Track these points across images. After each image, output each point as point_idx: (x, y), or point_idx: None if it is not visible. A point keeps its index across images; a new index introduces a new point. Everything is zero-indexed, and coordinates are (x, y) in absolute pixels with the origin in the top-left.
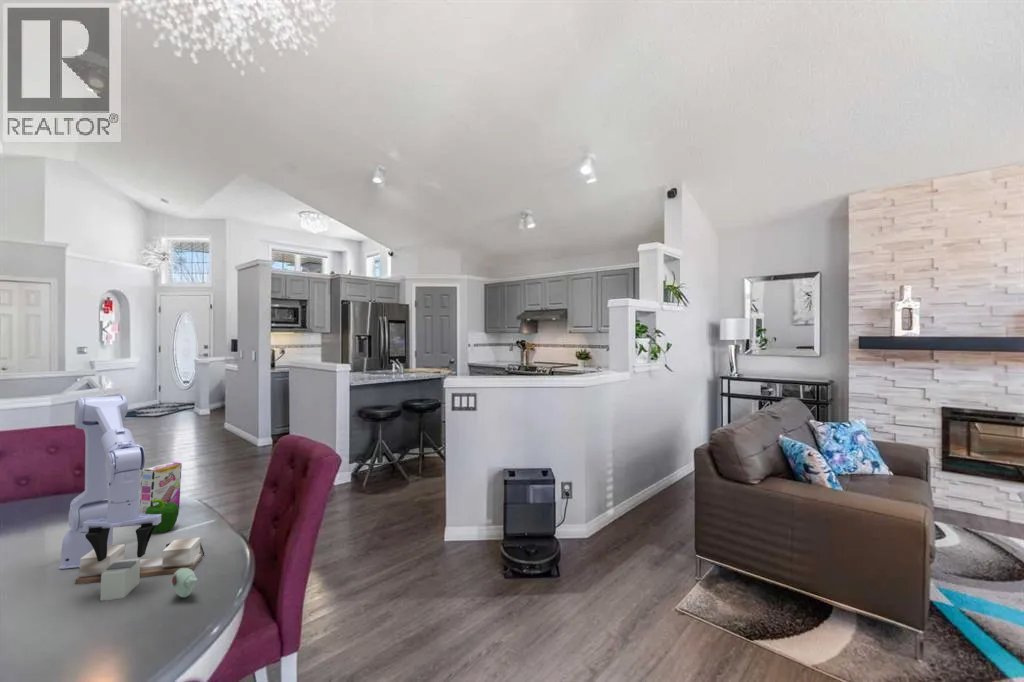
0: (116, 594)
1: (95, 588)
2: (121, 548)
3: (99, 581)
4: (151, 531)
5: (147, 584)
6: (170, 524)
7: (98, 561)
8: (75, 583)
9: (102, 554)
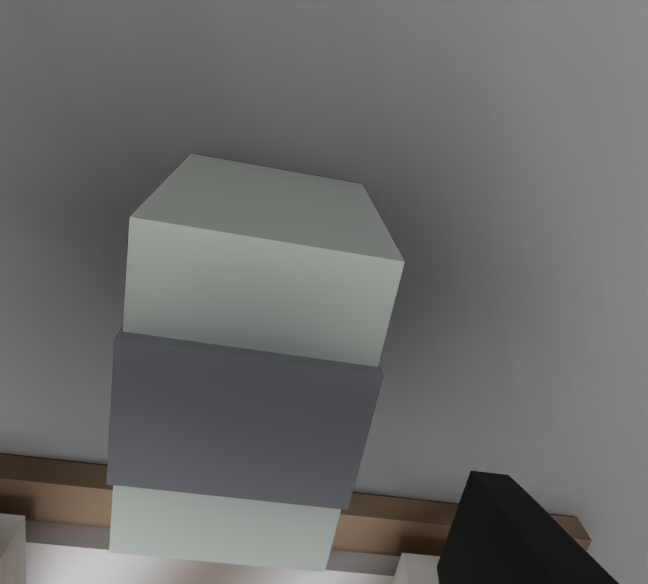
0: (244, 170)
1: (446, 413)
2: None
3: (445, 504)
4: None
5: (90, 336)
6: None
7: (503, 476)
8: (578, 521)
9: (493, 568)
